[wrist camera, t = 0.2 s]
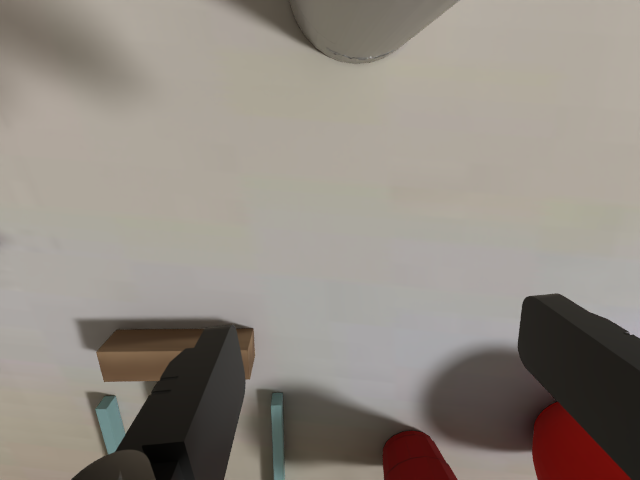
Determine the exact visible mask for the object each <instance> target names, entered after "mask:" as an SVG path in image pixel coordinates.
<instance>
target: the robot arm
mask: <svg viewBox="0 0 640 480" xmlns="http://www.w3.org/2000/svg"><path fill="white" fill-rule="evenodd" d="M289 1H290V6H291V8H292V11H293V14H294V17H295V19H296V22H297V23H298V25H299V27H300V28H301V30H302V32H303V33H304V35H305V36H306V38H307V39H308V40H309V41H310V42H311V43H312V44H313V45H314V46H315V47H316V48H317V49H318V50H320V51H321V52H323V53H324V54H325V55H327V56H328V57H331V58H333V59H336V60H338V61H341V62H346V63H353V64H360V63H370V62H373V61H376V60H379V59H382V58H384V57H386V56H388V55H389V54H391V53H393V52H394V51H396V50H397V49H398V48H400V47H401V46H402V45H404V44H405V43H406V42H407V41H409V40H410V39H411V38H413V37H414V36H415V35H417V34H418V33H419V32H420V31H422V30H423V29H424V28H425V27H427V26H428V25H429V24H430V23H432V22H433V21H434V20H436V19H437V18H438V17H439V16H441V15H442V14H443V13H444V12H446V11H447V10H448V9H449V8H451V7H452V6H453V5H454V4H456V3H457V2H458V1H459V0H289ZM518 352H519V356H520V358H521V361H522V363H523V364H524V366H525V367H526V369H527V370H528V371H529V372H530V373H531V374H532V375H533V376H534V377H535V378H536V379H537V380H538V381H539V382H540V383H541V384H542V386H543V387H544V388H545V389H546V390H547V391H548V392H549V393H550V394H551V395H552V396H553V397H554V398H555V399H556V400H557V401H558V402H559V403H560V405H561V406H562V407H563V408H564V409H565V410H566V411H567V412H568V413H569V414H570V415H571V416H572V417H573V418H574V419H575V420H576V421H577V422H578V424H579V425H580V426H581V427H582V428H583V429H584V430H585V431H586V432H587V433H588V434H589V435H590V436H591V437H592V438H593V439H594V440H595V441H596V443H597V444H598V445H599V446H600V447H601V448H602V449H603V450H604V451H605V452H606V453H607V454H608V455H609V456H610V457H611V458H612V459H613V460H614V462H615V463H616V464H617V465H618V466H619V467H620V468H621V469H622V470H623V471H624V472H625V473H626V474H627V475H628V476H629V477H630V478H631V479H632V480H640V338H638V337H636V336H635V335H630V334H629V332H628V331H626V330H625V329H623V328H621V327H620V326H618V325H617V324H615V323H613V322H612V321H610V320H608V319H606V318H603V317H601V316H598V315H595V314H593V313H590V312H588V311H587V310H585V309H584V308H582V307H580V306H579V305H577V304H575V303H574V302H572V301H571V300H569V299H567V298H566V297H564V296H562V295H561V294H547V295H536V296H528V297H526V298H525V299H524V301H523V304H522V312H521V321H520V329H519V338H518ZM244 394H245V371H244V366H243V360H242V355H241V350H240V345H239V340H238V335H237V330H236V328H235V326H234V325H226V326H216V327H206V328H205V329H204V330H203V332H202V334H201V336H200V337H199V339H198V341H197V343H196V345H195V347H194V348H185V349H184V350H183V351H182V352H181V353H180V354H178V355H177V356H176V357H175V358H174V359H173V360H172V361H170V362H169V364H168V366H167V367H166V369H165V371H164V372H163V374H162V376H161V377H160V381H158V382H157V384H156V385H155V387H154V389H153V390H152V394H151V395H149V397H148V398H147V400H146V402H145V403H144V405H143V407H142V408H141V410H140V412H139V413H138V415H137V416H136V418H135V420H134V421H133V423H132V425H131V426H130V428H129V430H128V431H127V433H126V434H125V436H124V438H123V439H122V441H121V443H120V444H119V446H118V448H117V449H116V451H115V452H114V453H111V454H108V455H106V456H104V457H102V458H100V459H98V460H96V461H94V462H93V463H91V464H90V465H88V466H87V467H85V468H84V469H83V470H81V471H80V472H79V473H78V474H77V475H76V476H74V477H73V478H72V479H71V480H224V477H225V473H226V469H227V464H228V460H229V456H230V452H231V448H232V444H233V440H234V436H235V432H236V427H237V423H238V419H239V415H240V411H241V407H242V403H243V399H244Z"/></svg>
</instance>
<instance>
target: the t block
mask: <svg viewBox="0 0 640 480" xmlns="http://www.w3.org/2000/svg"><path fill="white" fill-rule="evenodd" d="M203 330H204V329H131V330H116V331H115V332H114V333H113V334H112V335H111V336H110V337H109V339H108V340H107V341H106V342H105V343H104V344H103V345H102V346H101V347H100V348H99V350H98V351H97V352H96V353H97V357H98V361H99V364H100V368H101V372H102V376H103V380H104V382H116V381H160V377H161V376H162V374H163V372H164V371H165V369H166V367H167V366H168V364H169V362H170V361H172V360H173V359H174V358H175V357H176V356H177V355H178V354H180V353H181V352H182V351H183V350H184V349H185V348H194V347H195V345H196V343H197V341H198V339H199V337H200V336H201V334H202V332H203ZM236 330H237V335H238V340H239V345H240V350H241V355H242V360H243V366H244V371H245V379H250V376H251V372H252V367H253V362H254V358H255V348H254V331H253V328H242V329H236Z"/></svg>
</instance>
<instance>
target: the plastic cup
mask: <svg viewBox="0 0 640 480" xmlns="http://www.w3.org/2000/svg"><path fill="white" fill-rule="evenodd" d="M382 456H383V470H384V480H457V478H456V476H455V475H454V473H453V471H452V470H451V468H450V466H449V465H448V464H447V463H446V461H445V460H444V458H443V456H442V454H441V453H440V451H439V449H438V448H437V446H436V444H435V443H434V441H432V439H431V438H430V436H428V435H426V434H425V433H423V432H419V431H405V432H401V433H399V434H396V435H394V436H393V437H391V438H390V439H389V440H388V441H387V442H386V444H385V446H384V448H383V455H382Z"/></svg>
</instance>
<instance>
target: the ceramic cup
mask: <svg viewBox="0 0 640 480" xmlns="http://www.w3.org/2000/svg"><path fill="white" fill-rule="evenodd" d="M532 455H533V462H534V467H535V471H536V475H537V479H538V480H632V479H631V478H630V477H629V476H628V475H627V474H626V473H625V472H624V471H623V470H622V469H621V468H620V467H619V466H618V465H617V464H616V463H615V462H614V460H613V459H612V458H611V457H610V456H609V455H608V454H607V453H606V452H605V451H604V450H603V449H602V448H601V447H600V446H599V445H598V444H597V443H596V441H595V440H594V439H593V438H592V437H591V436H590V435H589V434H588V433H587V432H586V431H585V430H584V429H583V428H582V427H581V426H580V425H579V424H578V422H577V421H576V420H575V419H574V418H573V417H572V416H571V415H570V414H569V413H568V412H567V411H566V410H565V409H564V408H563V407H562V406H561V405H560V403H559V402H556V403H553V404H551V405H550V406H548V407H547V408H546V409H544V410H543V411H542V412H541V413H540V414H539V416H538V417H537V419H536V421H535V424H534V434H533V445H532Z"/></svg>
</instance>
